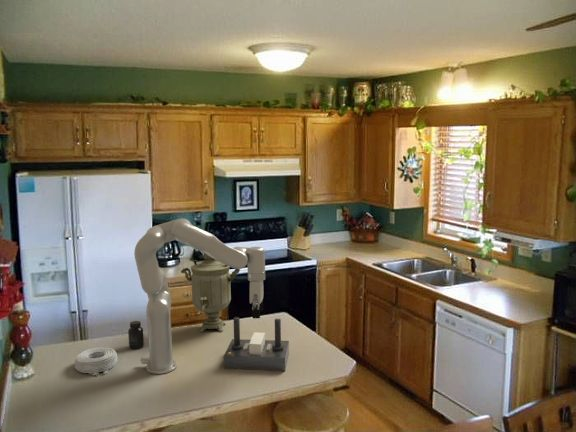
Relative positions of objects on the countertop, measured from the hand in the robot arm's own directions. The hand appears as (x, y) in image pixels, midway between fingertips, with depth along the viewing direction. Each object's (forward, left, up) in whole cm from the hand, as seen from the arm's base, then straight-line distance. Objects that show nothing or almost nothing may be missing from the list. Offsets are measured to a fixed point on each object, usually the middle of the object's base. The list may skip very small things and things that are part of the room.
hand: (258, 314), depth 230 cm
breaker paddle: (0, 0, -18) cm, 18 cm away
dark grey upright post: (-9, 0, -15) cm, 18 cm away
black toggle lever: (+9, 0, -15) cm, 18 cm away
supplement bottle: (-59, +11, -22) cm, 64 cm away
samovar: (-30, +35, -22) cm, 51 cm away
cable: (-69, -11, -22) cm, 73 cm away
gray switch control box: (0, 0, -21) cm, 21 cm away
